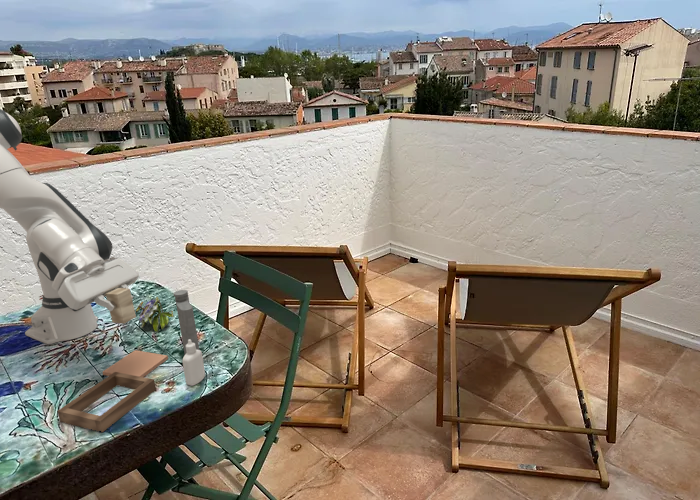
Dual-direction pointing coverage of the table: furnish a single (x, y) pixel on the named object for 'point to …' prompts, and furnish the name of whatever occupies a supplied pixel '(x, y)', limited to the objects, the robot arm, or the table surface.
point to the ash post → (121, 305)
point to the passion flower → (149, 312)
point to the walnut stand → (101, 423)
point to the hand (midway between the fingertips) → (122, 304)
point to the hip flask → (186, 318)
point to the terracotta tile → (137, 364)
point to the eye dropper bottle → (193, 364)
